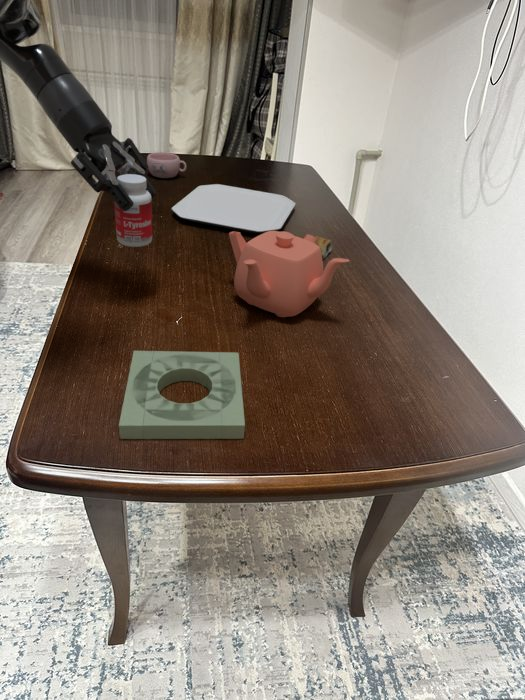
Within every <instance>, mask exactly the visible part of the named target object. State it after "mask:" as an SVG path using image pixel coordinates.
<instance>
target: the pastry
mask: <svg viewBox="0 0 525 700" xmlns="http://www.w3.org/2000/svg"><path fill="white" fill-rule="evenodd" d="M305 236H306V235H304V236H299V237H300V238H302V239H304V238H305ZM314 237H315V238H317V240H318V242H317V244H316V245H318V246H319V247H320V250H321V255H322V260H324V259H326V257H327V256H328V255H329V253H331V252H332V249H333V245H332V244H333V243H332V240H331V239H329V238H328V239H326V238H324V237H321V236H319V235H314Z"/></svg>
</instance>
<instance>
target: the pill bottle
mask: <svg viewBox="0 0 525 700" xmlns="http://www.w3.org/2000/svg"><path fill="white" fill-rule="evenodd" d="M146 178H147V177H146ZM146 178H145V177H143V176H141V175H136V174H125V175H122V174H120V175H118V176H116V179H117V182H118V184H117V185H121V187H122V188H123V189H124V191H125V192H126V193H127V194H128V196H129V197H130V198H131V200H132V201H133V203H134V204H133V206H132V207H131V208H130V209H129V210H127V211H123V210H122V209H121V208H120V207H119V206H118V205H117V203H116V202H115V201H114V200H113V202H114V217H115V218H114V219H115V234H116V235H115V236H116V240H117V242H118V243H119V244H121V245H123V246H125V247H130V248H140V247H145V246H148V245H150V244H151V243H152V241H153V207H152V205H153V204H152V203H153V200H152V199H153V198H152V199H151V194H150V193H149V192H148V191H147V190H145V189H146V188H147V183H146Z"/></svg>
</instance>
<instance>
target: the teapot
mask: <svg viewBox="0 0 525 700" xmlns="http://www.w3.org/2000/svg"><path fill="white" fill-rule="evenodd" d="M304 236H305V238H304V239H302V238H300V237H301V236H297V235H294V233H291V232H289V231H280V230H277V231H268V232H263V233H260V234H259V235H257V236H255V237H253V238H252V239H250V240H248V241H247V242H246V240H245V238H244V237H243V235H242V234H241V231H236V230H233V231H230V232H229V233H228V237H229V240H230V241H229V242H230V244H231V248H232V251H233V254H234V258H235V262H236V268H235V271H234V279H233V286H234V289H235V292H236V294H237V296H238V297H239V298H240V299H242V300H243V301H245V302H246V303H247V304H248V305H250V306H254V307H256V308H259V309H261V310H263V311H267V312H270V313H273V314H275V316H277V317H279V318H287V317H295V316H297V315H299V314H301V313H302V312H303V311H305V310H306V309H307V308H308V307H310V306H311V305H312V304H313V303H314V302H315V301H316V300H317V299H318V298H319V296H322V295H323V294H324V293H325V292H326V291H327V290H328V289H329V287H330V285H331V283H332V280H333V277H334V274H335V273H336V271H337V269H338V267H340V266H341V265H343V264H346V263H349V262H350V261H351V260H350V259H349V258H343V257H335V258H332V259H330V260H329V261H328V262H327V263H326V265H325V267H324V262H323V259H322V255H321V250H320V247H319V246H318V245H316V244H317V242H318V240H317V238H315V235H312V234H308V233H307V234H305V235H304Z"/></svg>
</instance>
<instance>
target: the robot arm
mask: <svg viewBox="0 0 525 700" xmlns="http://www.w3.org/2000/svg"><path fill="white" fill-rule="evenodd" d="M40 13H41V12H40V11H39V9H38V7H37V5H36V3H35V2H34V0H0V62H2V63H3V64H5V66H7V68H9V69H10V70H11V71H13V72H14V73H15V75H16V76H17V77H19V79H20V80H21V81H22V82H23V83H24V85H25V86H26V87H27V89H28V90H29V91H30V93H31V95H33V97H34V98H35V100H37V102H38V103H39V104H40V106H41V108H42V109H43V111H44V113H45V115H46V116H47V118H48V119H49V120H50V121H51V123H52V124H53V125H54V127H55V128H56V129H57V131H58V132H59V133H60V134H61V135H62V137H63V138H64V140H65V141H66V143H67V144H68V145H69V146H70V147H71V149H72V150H73V152H75V153H76V155H75V156H74V157H73V158H72V159H71V161H70V164H71V166H72V167H73V168H74V169H75V170H76V172H78V174H79V175H80V176H81V177H82V178H83V179H84V180H85V181H86V183H87V184H88V185H89V186H90V187H91V189H93V191H95V192H96V193H101V192H105V193H106V194H109V195H110V197H111V198H112V200H113V202H114V201H115V202H116V203H117V205H118V206H119V207H120V208H121V209H122V210H123V211H127V210H129V209H130V208H131V207H132V206H133V204H134V203H133V201H132V200H131V198H130V197H129V196H128V194H127V193H126V192H125V191H124V189H123V188H122V187H121V185H117V184H118V182H117V176H116V172H117V173H118V174H120V175H125V174H136V175H141V176H143V177H145V178H146V183H147V188H146V189H145V190H147V191H148V192H149V193H150V194H151V199H153V198H155V197H156V195H157V191H156V189H155V187H154V186H153V185H152V183H151V182H150V181H149V178H147V177H146V171H147V170H149V169H148V165H147V161H146V160H145V159H144V157H143V155H142V154H141V152H140V150H139V149H138V147H137V145H136V143H134V141H133V140H132V138H130V137H127V138H126V139H125V140H124V141H120V140H119V139H118V138H116V137H115V136H114V134H113V132H112V131H113V130H112V129H113V124H112V123H111V121H110V120H109V119H108V116H107V115H106V114H105V113H104V112H103V110H102V108H101V107H100V106H99V105H98V104H97V102H96V100H94V98H93V97H92V95H91V94H90V93H89V91H88V89H86V88H85V86H84V85H83V84H82V82H80V81H79V79H78V78H77V77H76V76H75V74H74V73H73V72H72V70H71V69H70V68H69V67H68V65H67V64H66V63H65V61H64V59H62V57H61V55H60V54H59V52H57V50H56V49H55V48H53V46H51V45H50V44H47V43H36V44H31V45H19V44H21V43H23V42H24V41H26V40H28V39H30V38H32V37H33V36H35V35H37V33H38V32H39V31H40V29H41V27H42V16H41V14H40ZM137 162H138V163H137ZM130 169H131V170H130ZM94 177H95V178H94ZM95 179H97V181H96V180H95Z"/></svg>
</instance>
